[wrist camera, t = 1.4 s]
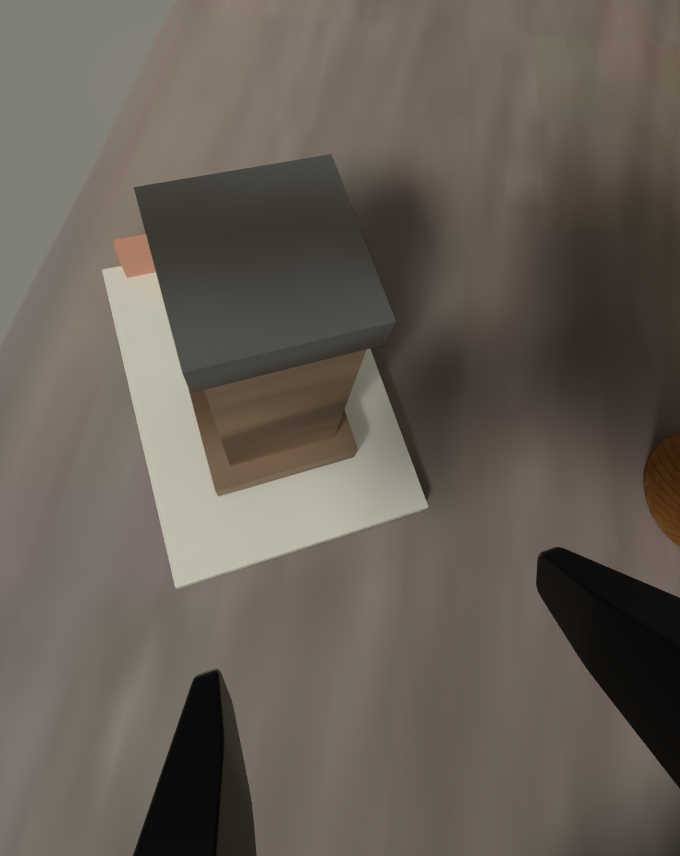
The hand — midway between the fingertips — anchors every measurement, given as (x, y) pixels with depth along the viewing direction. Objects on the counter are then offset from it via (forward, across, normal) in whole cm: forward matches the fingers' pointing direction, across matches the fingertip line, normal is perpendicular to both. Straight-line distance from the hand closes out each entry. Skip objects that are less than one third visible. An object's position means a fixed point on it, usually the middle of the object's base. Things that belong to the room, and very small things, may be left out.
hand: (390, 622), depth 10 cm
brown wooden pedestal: (+15, 0, +2) cm, 15 cm away
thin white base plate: (+17, 0, +2) cm, 17 cm away
